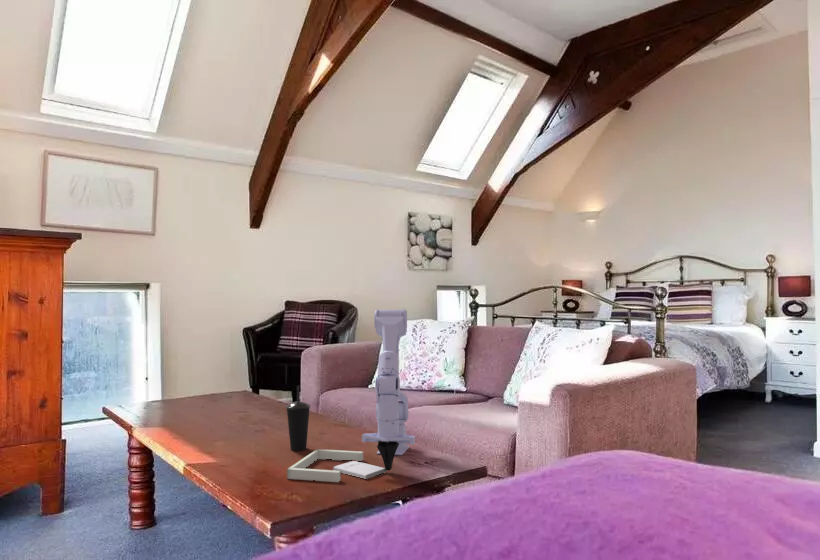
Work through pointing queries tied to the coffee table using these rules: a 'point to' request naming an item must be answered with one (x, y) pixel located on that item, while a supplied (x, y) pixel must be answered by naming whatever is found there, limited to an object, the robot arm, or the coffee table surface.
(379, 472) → the external hard drive
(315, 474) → the open u-shaped rail
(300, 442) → the drinking cup
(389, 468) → the robot arm
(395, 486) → the coffee table surface
